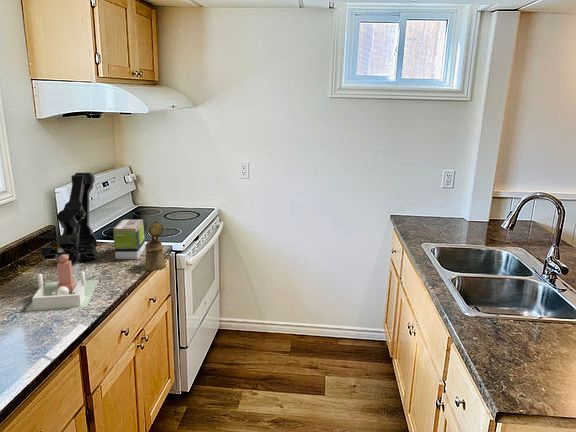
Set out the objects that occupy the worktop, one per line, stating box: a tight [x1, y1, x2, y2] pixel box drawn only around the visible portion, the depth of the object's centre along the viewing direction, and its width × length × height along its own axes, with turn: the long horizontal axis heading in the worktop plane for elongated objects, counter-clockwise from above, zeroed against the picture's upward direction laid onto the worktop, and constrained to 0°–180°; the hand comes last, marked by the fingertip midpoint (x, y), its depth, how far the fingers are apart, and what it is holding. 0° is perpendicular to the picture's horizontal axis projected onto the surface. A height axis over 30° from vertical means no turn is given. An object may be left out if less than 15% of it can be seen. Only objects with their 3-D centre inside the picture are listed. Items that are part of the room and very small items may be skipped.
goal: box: [31, 271, 87, 309], centre depth 152 cm, size 9×15×9 cm, turn 103°
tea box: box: [112, 219, 146, 260], centre depth 200 cm, size 15×10×15 cm, turn 5°
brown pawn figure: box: [144, 221, 167, 272], centre depth 187 cm, size 9×14×18 cm, turn 8°
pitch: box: [25, 279, 100, 312], centre depth 159 cm, size 24×19×2 cm
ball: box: [57, 286, 69, 295], centre depth 156 cm, size 4×4×4 cm
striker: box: [56, 254, 76, 293], centre depth 159 cm, size 4×5×14 cm
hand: (66, 272), depth 161 cm, fingers closed, pressing on striker
